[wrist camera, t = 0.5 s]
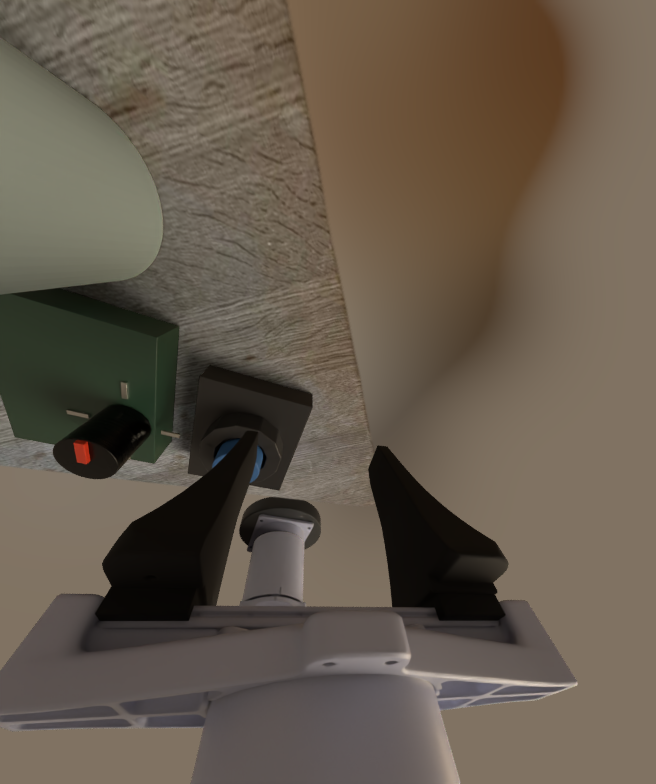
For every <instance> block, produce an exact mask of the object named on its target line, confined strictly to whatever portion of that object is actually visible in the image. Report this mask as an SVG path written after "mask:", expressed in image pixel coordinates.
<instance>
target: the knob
mask: <svg viewBox="0 0 656 784" xmlns="http://www.w3.org/2000/svg"><path fill="white" fill-rule="evenodd" d="M151 430H152V429H151V425H150V422H149V421H148V419H147V418H146V417H145V416H144V415H143V414H141V413H140V412H139V411H137V410H135V409H133V408H130V407H127V406H122V405H113V406H108V407H106V408H104V409H103V410H102V411H100V412H99V413H97V414H96V415H95V416H93V417H92V418H90V419H89V420H88V421H86V422H85V423H84V424H82V425H81V426H79V427H78V428H77V429H75V430H74V431H72V432H71V433H70V434H68V435H67V436H66V437H64V438H63V439H61V440H60V441H59V442H57V443H56V444H55V446H54V448H53V455H54V457H55V459H56V461H57V462H58V463H59V464H60V465H61V466H62V467H63V468H65V469H66V470H68V471H70V472H72V473H73V474H76V475H78V476H81V477H85V478H90V479H105V478H108V477H111V476H113V475H114V474H115V473H116V472H117V471H118V470H119V469H120V468H121V467H122V466H123V465H124V464H125V462H126V461H127V460H128V459H129V458H130V457H131V456H132V455H133V454H134V453H135V451H136V450H137V449H138V448H139V447H140V446H141V445H142V444H143V443H144V442H145V441H146V439H147V438H148V437H149V436H150V434H151Z"/></svg>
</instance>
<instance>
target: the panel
mask: <svg viewBox="0 0 656 784" xmlns="http://www.w3.org/2000/svg"><path fill="white" fill-rule="evenodd" d="M178 340H179V326H177V325H174V324H171V323H168V322H165V321H161V320H158V319H155V318H152V317H149V316H146V315H142V314H139V313H136V312H133V311H130V310H126V309H123V308H120V307H117V306H114V305H111V304H107V303H104V302H101V301H98V300H95V299H91V298H88V297H85V296H82V295H79V294H76V293H72V292H69V291H66V290H63V289H60V288H53V289H45V290H36V291H27V292H19V293H10V294H1V295H0V395H1V398H2V400H3V403H4V406H5V409H6V412H7V415H8V418H9V421H10V424H11V427H12V430H13V433H14V436H15V437H17V438H22V439H27V440H33V441H38V442H43V443H48V444H54V445H55V444H56V443H57V442H59V441H60V440H61V439H63V438H64V437H66V436H67V435H68V434H70V433H71V432H72V431H74V430H75V429H77V428H78V427H79V426H81V425H82V424H84V423H85V422H86V421H88V420H89V419H90V418H92V417H93V416H95V415H96V414H97V413H99V412H100V411H102V410H103V409H104V408H106V407H108V406H113V405H122V406H127V407H130V408H133V409H135V410H137V411H139V412H140V413H141V414H143V415H144V416H145V417H146V418H147V419H148V421H149V422H150V425H151V429H152V430H151V434H150V436H149V437H148V438H147V439H146V441H145V442H144V443H143V444H142V445H141V446H140V447H139V448H138V449H137V450H136V451H135V453H134V454H133V455H132V456H131V457H130V458H129V459H128V460H130V459H133V460H138V461H143V462H148V463H155V462H156V461H157V459H158V458H159V457H160V455H161V454H162V453H163V451H164V450H165V449H166V448H167V446H168V445H169V444H170V442H171V441H172V437H176V438H180V434H179V433H174V432H172V429H173V414H174V399H175V385H176V370H177V355H178Z"/></svg>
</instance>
